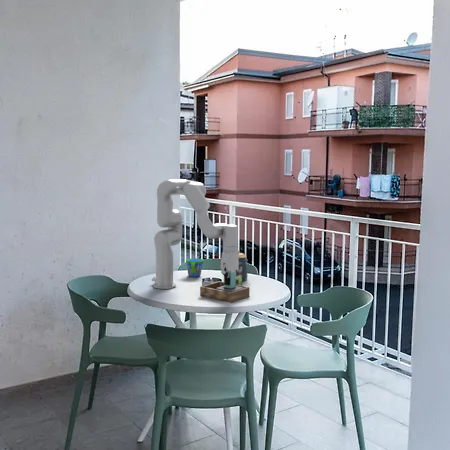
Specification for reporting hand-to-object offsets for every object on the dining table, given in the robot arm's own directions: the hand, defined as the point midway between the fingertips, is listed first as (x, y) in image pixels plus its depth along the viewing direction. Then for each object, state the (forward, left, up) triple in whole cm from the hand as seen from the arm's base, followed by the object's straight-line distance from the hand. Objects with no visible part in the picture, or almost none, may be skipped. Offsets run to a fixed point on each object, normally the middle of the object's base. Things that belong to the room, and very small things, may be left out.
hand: (229, 283), depth 263 cm
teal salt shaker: (0, 0, -2) cm, 2 cm away
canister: (-21, +36, -7) cm, 42 cm away
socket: (0, 0, -6) cm, 6 cm away
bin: (-3, 0, -7) cm, 8 cm away
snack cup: (-46, +26, -7) cm, 53 cm away
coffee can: (-11, +18, -7) cm, 22 cm away
